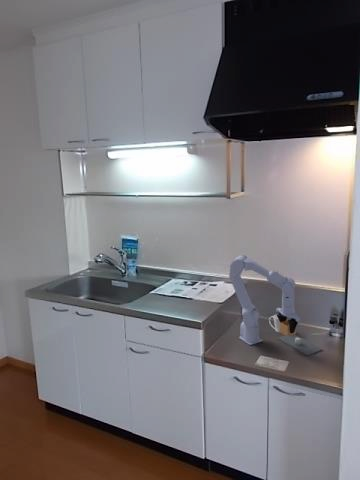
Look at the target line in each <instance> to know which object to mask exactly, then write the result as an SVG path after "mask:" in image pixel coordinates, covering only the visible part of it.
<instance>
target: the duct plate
mask: <svg viewBox="0 0 360 480" xmlns="http://www.w3.org/2000/svg"><path fill="white" fill-rule="evenodd" d="M277 340H279V341H280V342H282V343H283V344H286V345H288V346H289V347H291V348H293V349H294V350H295V351H297V352H299V353H301V354H303V355H305V356H306V357H309V356H312V355H314V354H316V353H319V352H322V351H323V350H324V348H322V347H320V346H318V345H316V344H315V343H312V342H310V341H308V340H306V339H305V338H303V337H300V336H298V335H297V334H294V335H291V336H288V337H287V336H285V335H282V336H279V337H277Z"/></svg>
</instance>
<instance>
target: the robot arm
mask: <svg viewBox="0 0 360 480" xmlns="http://www.w3.org/2000/svg"><path fill="white" fill-rule="evenodd" d="M243 270H244V271H245V272H247V271H253V272H255V273H257V274H259V275H261V276H263V277H264V278H266V280H267V282H268V283H271V284H272V285H275V286H276V287H277V288H279V289H280V291H281V293H282V294H281V307H276V309H275V312H276V313H278V314H276V315H277V317H278V319H279V321H280V323H281V322H284V321H287V320H288V322H289V326H290V333H294V332H295V328H296V329H297V326H298V324H299V322H301V319H302V317H300V316H299V315H298V314H297V313H296V310H295V288H296V281H295V280H294V279H293V278H291V277H287V276H284V275H282V274H280V273H279V271H277V270H276V271H275V270H269V269H267V268H265V266H262V265H261V264H259V263H258V262H257V261H254V260H253V259H252V258H251V257H248V256H247V255H244V254H239V255H237V257H236V258H235V259H234V260H232V261H231V263H230V265H229V274H228V276H229V277H228V278H229V280H230V281H231V284H232V287H233V289H234V291H235V294H236V297H237V299H238V301H239V304H240V306H241V308H242V309H241V314H242V315H241V316H242V322H241V323H240V327H239V329H240V331H239V332H240V333H239V334H240V336H239V337H238V338H239V339H240V340H241V341H243V342H245V343H246V344H248V345H249V346H251V345H255V344H257V343H261V342H263V339H261V338H260V333H259V332H260V331H259V330H260V327H259V326H260V324H259V318H260V316H261V314H260V312H259V310H258V309H257V307H256V306H255V305H254V304H253V303H252V301H251V299H250V297H249V294H248V291H247V289H246V286H245V284H244V280H243V279H242V277H241V275H242V273H243ZM288 318H290V319H288Z"/></svg>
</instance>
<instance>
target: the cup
mask: <svg viewBox="0 0 360 480" xmlns="http://www.w3.org/2000/svg"><path fill="white" fill-rule="evenodd" d="M271 318H273V323H274V326H273V324H272V322H271ZM268 323H269V325H270V326H271V328H273V330H275V332H277V333H280V321H279V319H278V317H277V314H274V315H271V316H270V317H269V318H268Z"/></svg>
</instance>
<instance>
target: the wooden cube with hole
mask: <svg viewBox="0 0 360 480" xmlns="http://www.w3.org/2000/svg"><path fill="white" fill-rule="evenodd" d="M288 320H289V319H287V320H286V321H284V322H281V323H280V332H279V333H280V334H282V335H283V336H287V337H288V336H291V335H294V334H295V335H297V327H296V328H295V332H294V333H290V326H289V322H288Z"/></svg>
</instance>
